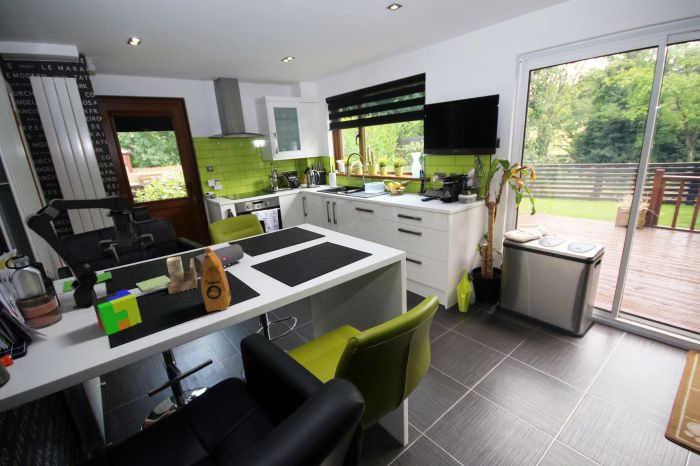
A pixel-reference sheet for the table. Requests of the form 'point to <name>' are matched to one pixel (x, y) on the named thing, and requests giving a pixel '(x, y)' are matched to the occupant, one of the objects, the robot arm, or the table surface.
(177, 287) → the light wood angled piece
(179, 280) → the beech block
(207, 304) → the coffee package
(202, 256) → the bluetooth speaker
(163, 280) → the olive mat
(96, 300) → the puzzle toy
